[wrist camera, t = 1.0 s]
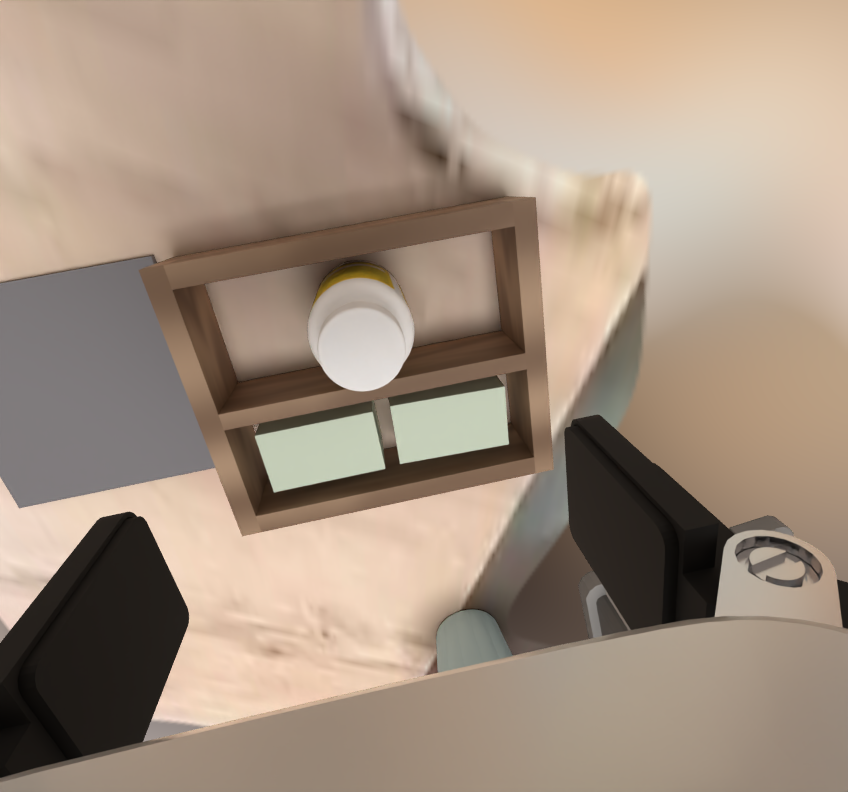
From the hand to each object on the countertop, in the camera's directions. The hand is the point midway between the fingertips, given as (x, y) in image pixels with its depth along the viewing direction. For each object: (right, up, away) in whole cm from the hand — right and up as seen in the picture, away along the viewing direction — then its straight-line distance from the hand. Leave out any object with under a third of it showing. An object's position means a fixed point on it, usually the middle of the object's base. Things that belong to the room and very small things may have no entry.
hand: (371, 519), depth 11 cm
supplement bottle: (-3, +9, +20) cm, 22 cm away
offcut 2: (+2, +3, +23) cm, 24 cm away
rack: (-2, +5, +22) cm, 22 cm away
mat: (-20, +3, +20) cm, 28 cm away
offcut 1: (-6, +1, +23) cm, 24 cm away
